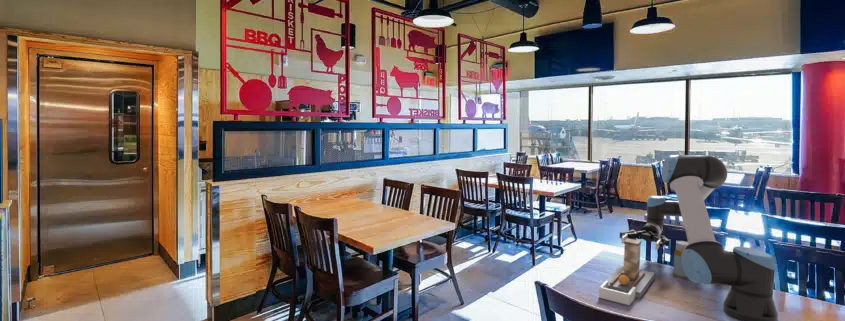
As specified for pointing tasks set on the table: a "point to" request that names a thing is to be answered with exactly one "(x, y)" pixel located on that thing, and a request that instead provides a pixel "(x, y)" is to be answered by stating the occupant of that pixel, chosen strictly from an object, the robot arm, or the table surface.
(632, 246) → the tan tall block
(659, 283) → the table surface
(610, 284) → the lane rails
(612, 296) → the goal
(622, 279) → the ball
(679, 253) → the bottle
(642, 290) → the platform
